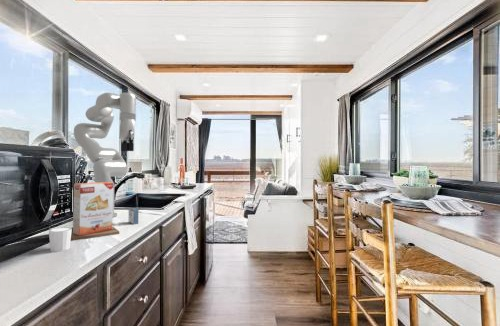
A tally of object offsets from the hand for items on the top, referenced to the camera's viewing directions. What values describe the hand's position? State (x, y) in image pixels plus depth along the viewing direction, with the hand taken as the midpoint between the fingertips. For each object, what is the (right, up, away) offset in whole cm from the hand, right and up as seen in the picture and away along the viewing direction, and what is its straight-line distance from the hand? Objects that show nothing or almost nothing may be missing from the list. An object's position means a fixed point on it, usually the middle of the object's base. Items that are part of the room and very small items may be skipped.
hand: (127, 151), depth 143 cm
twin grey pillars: (-4, -36, -9) cm, 38 cm away
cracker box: (-4, -36, -24) cm, 43 cm away
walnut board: (-4, -37, -24) cm, 44 cm away
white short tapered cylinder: (-4, -37, -44) cm, 58 cm away
